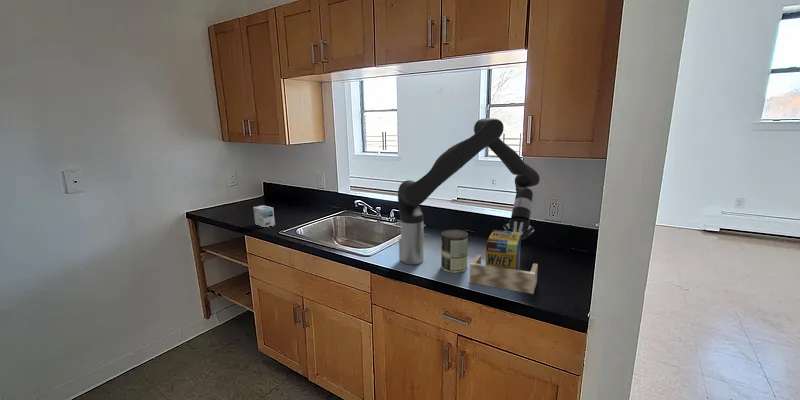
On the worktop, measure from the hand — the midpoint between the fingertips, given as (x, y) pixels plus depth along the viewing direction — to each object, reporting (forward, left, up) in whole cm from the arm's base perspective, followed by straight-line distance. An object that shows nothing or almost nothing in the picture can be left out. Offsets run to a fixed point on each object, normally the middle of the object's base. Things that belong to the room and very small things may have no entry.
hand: (515, 246), depth 149 cm
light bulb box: (-136, -4, -6) cm, 136 cm away
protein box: (-1, -19, -6) cm, 20 cm away
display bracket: (0, -24, -6) cm, 24 cm away
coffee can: (-20, -18, -6) cm, 28 cm away
